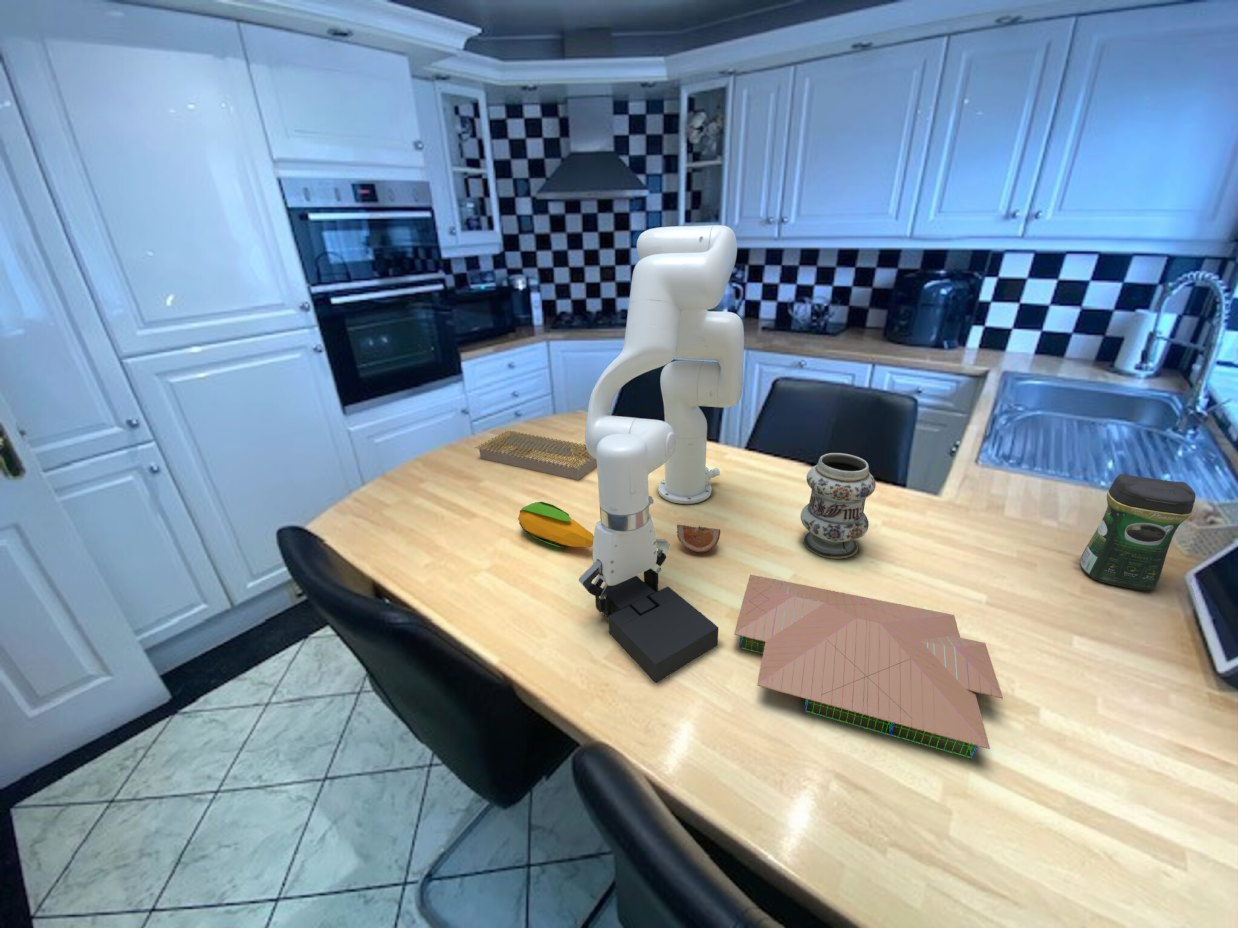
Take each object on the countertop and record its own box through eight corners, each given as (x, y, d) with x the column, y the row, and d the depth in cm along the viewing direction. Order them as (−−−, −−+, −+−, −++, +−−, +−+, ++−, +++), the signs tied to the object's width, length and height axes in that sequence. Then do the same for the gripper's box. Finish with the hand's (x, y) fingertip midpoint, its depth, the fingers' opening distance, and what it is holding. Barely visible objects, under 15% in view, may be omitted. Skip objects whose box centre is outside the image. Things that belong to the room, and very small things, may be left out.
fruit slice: (673, 553, 99) (673, 532, 97) (680, 535, 105) (680, 514, 102) (716, 560, 96) (717, 538, 94) (721, 540, 102) (722, 519, 100)
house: (1011, 775, 58) (1033, 726, 54) (721, 692, 69) (724, 648, 66) (970, 635, 77) (984, 593, 73) (748, 589, 88) (752, 550, 85)
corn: (531, 489, 109) (605, 514, 98) (537, 518, 113) (609, 545, 102) (506, 506, 104) (582, 534, 93) (513, 536, 107) (586, 566, 97)
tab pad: (634, 589, 90) (634, 573, 88) (665, 616, 83) (665, 600, 82) (601, 605, 86) (600, 589, 85) (631, 635, 80) (630, 618, 78)
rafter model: (476, 458, 144) (472, 439, 141) (509, 440, 155) (506, 422, 152) (579, 482, 128) (577, 460, 125) (608, 460, 139) (606, 439, 137)
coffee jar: (1143, 570, 89) (1190, 475, 81) (1159, 597, 82) (1212, 497, 74) (1073, 556, 93) (1110, 465, 85) (1083, 580, 87) (1125, 485, 79)
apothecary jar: (864, 534, 102) (880, 453, 94) (862, 568, 92) (880, 481, 84) (801, 523, 107) (811, 444, 99) (793, 554, 97) (804, 470, 89)
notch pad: (667, 602, 86) (667, 585, 85) (717, 644, 77) (718, 627, 76) (609, 632, 80) (607, 615, 79) (655, 682, 71) (655, 664, 70)
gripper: (654, 487, 85) (655, 570, 92) (563, 521, 76) (572, 609, 84) (683, 505, 79) (682, 591, 87) (588, 543, 71) (596, 636, 78)
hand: (628, 600), depth 85 cm, fingers open, 9 cm apart
